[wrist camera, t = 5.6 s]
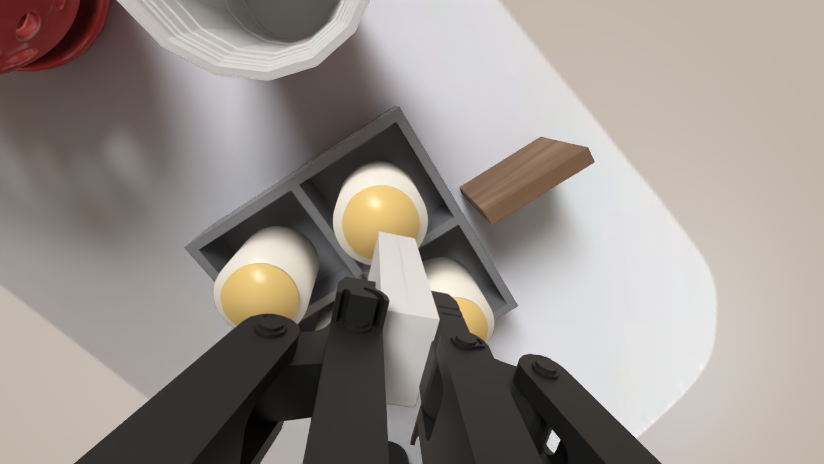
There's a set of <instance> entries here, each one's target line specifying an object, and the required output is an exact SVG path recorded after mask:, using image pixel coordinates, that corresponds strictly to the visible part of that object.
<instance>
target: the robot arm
mask: <svg viewBox="0 0 824 464" xmlns="http://www.w3.org/2000/svg"><path fill="white" fill-rule="evenodd" d="M419 391H420V396H421V406H420V409H419V413H418V416H417V420H416V423H415V427H414V430H413V434H412V437H411V443H410V445H415V442H416V438H417V437H418V436H419V439H420V447H421V454H422V462H423V464H661V463H660V462H659V461H658V460H657V459H656V458H655V457H654V456H653V455H652V454H651V453H650V452H649V451H648V450H647V449H646V448H645V447H644V446H643V445H642V444H641V443H640V442H639V441H638V440H637V439H636V438H635V437H634V436H633V435H632V434H631V433H630V432H629V431H628V430H627V429H626V428H625V427H624V426H623V425H621V424H620V423H619V422H618V421H617V420H616V419H615V418H614V417H613V416H612V415H611V414H610V413H609V412H608V411H607V410H606V409H605V408H604V407H603V406H602V405H601V404H600V403H599V402H598V401H597V400H596V399H595V398H594V397H593V396H592V395H591V394H590V393H589V392H588V391H587V390H586V389H585V388H584V387H583V386H582V385H581V384H580V383H579V382H578V381H577V380H576V379H575V378H574V377H572V376H571V375H570V374H569V373H568V372H567V371H566V370H565V369H564V368H563V367H562V366H560V365H559V364H558V363H556V362H554V361H552V360H551V359H550V358H547V357H544V356H541V355H533V354H528V355H523V356H522V357H521V358H520V359H519V362H518V365H517V367H516V366H513V365H510V364H507V363H504V362H501V361H499V360H496V359H494V357H493V355H492V353H491V351H490V348H489V346H488V345H487V344H486V342H485V341H484V340H482V339H481V338H480V337H478V336H477V335H474V334H472V333H470V331H469V329H468V327H467V324H466V322H465V320H464V318H463V315H462V312H461V311H460V308H459V305H458V303H457V301H456V300H455V299H454V298H452V297H451V296H450V295H449V294H447V293H442V292H436V291H431V289H430V286H429V283H428V280H427V276H426V273H425V270H424V267H423V263H422V260H421V257H420V253H419V250H418V247H417V244H416V240H415V238H410V237H405V236H400V235H395V234H390V233H385V232H380V231H379V232H378V236H377V241H376V245H375V250H374V254H373V259H372V263H371V268H370V272H369V277H368V280H363V279H357V278H351V277H345V278H343V279H342V280H340V281H339V282H338V287H337V291H336V296H335V301H334V306H333V311H332V316H331V321H330V323H329V324H328V325H327V326H326V327H324V328H322V329H320V330H316V331H311V332H300V329H299V326H298V324H297V323H295V322H294V321H293V320H292V319H289V318H287V317H285V316H281V315H277V314H270V313H269V314H268V313H267V314H259V315H255V316H251V317H249V318H247V319H245V320H244V321H242V322H241V323H240V324H239V325H238V326H236V327H235V328H234V329H233V330H232V331H231V332H229V333H228V334H227V335H226V336H225V337H223V338H222V339H221V340H220V341H219V342H218V343H216V344H215V345H214V346H213V347H212V348H210V349H209V350H208V351H207V352H206V353H204V354H203V355H202V356H201V357H200V358H199V359H197V360H196V361H195V362H194V363H193V364H191V365H190V366H189V367H188V368H187V369H186V370H184V371H183V372H182V373H181V374H180V375H178V376H177V377H176V378H175V379H174V380H172V381H171V382H170V383H169V384H168V385H167V386H165V387H164V388H163V389H162V390H161V391H159V392H158V393H157V394H156V395H155V396H154V397H152V398H151V399H150V400H149V401H148V402H146V403H145V404H144V405H143V406H142V407H141V408H139V409H138V410H137V411H136V412H135V413H133V414H132V415H131V416H130V417H129V418H128V419H127V420H125V421H124V422H123V423H122V424H120V425H119V426H118V427H117V428H116V429H115V430H113V431H112V432H111V433H110V434H109V435H107V436H106V437H105V438H104V439H103V440H101V441H100V442H99V443H98V444H97V445H95V446H94V447H93V448H92V449H91V450H90V451H88V452H87V453H86V454H85V455H84V456H83V457H81V458H80V459H79V460H78V461H77V462H76V463H74V464H260V462H261V461H262V459H263V458H264V456H265V454H266V453H267V451H268V450H269V448H270V447H271V445H272V443H273V442H274V440H275V439H276V437H277V436H278V434H279V432H280V431H281V429H282V426H283V423H284V421H287V420H295V419H303V418H310V417H312V418H311V423H310V429H309V434H308V439H307V444H306V449H305V455H304V460H303V464H389V453H388V432H387V410H386V404H391V405H399V406H406V407H414V408H415V405H416V401H417V398H418V394H419ZM552 430H553V431H554V432H555V433H556V435H557V436H558V437H559V438H560V439H561V440H560V442H559V445H558V447H557V450H556V451H555V453H553V452H552V451H551V450H550V449H549V448H548V447H547V445H546V443H547V441H548V438H549V436H550V433H551V431H552Z"/></svg>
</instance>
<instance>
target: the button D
mask: <svg viewBox="0 0 824 464" xmlns="http://www.w3.org/2000/svg"><path fill="white" fill-rule="evenodd" d="M422 263H423V267H424V270H425V273H426V276H427V280H428V283H429V286H430V289H431V291H436V292H442V293H447V294H449V295H450V296H451V297H452V298H454V299H455V300H456V301H457V303H458V305H459V308H460V311H461V312H462V315H463V318H464V320H465V322H466V324H467V327H468V329H469V331H470V333H472V334H474V335H477V336H478V337H480V338H481V339H482V340H484V341H485V342H486V344H488V343H489V341H490V339H491V337H492V335H493V331H494V316H493V313H492V310H491V308H490V306H489V304H488V303H487V301H486V299H485V297H484V296H483V294H482V292H481V291H480V289H479V287H478V285H477V284H476V282H475V280H474V278H473V277H472V275H471V273H470V271H469V270H468V269H467V268H466V267H465V266H464V265H463V264H462V263H460V262H459V261H457V260H454V259H452V258H447V257H435V258H431V259H428V260H425V261H423V262H422Z"/></svg>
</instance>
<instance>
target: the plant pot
mask: <svg viewBox="0 0 824 464" xmlns="http://www.w3.org/2000/svg"><path fill="white" fill-rule="evenodd" d="M109 4H110V0H0V75H1V74H4V73H7V72H10V71H13V70H17V71H38V70H45V69H51V68H54V67H57V66H60V65H63V64H65V63H67V62H69V61H71V60H73V59H74V58H76V57H78V56H79V55H80V54H82V53H83V52H84V51H85V50H86V49H88V48H89V47H90V45H91V44H92V43H93V42H94V41H95V39H96V38H97V37H98V35H99V33H100V32H101V30H102V28H103V26H104V23H105V20H106V17H107V14H108V9H109Z"/></svg>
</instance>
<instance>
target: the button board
mask: <svg viewBox="0 0 824 464" xmlns="http://www.w3.org/2000/svg"><path fill="white" fill-rule="evenodd" d="M374 161H383V162H389V163H392V164H394V165H397V166H398V167H400V168H402V169H403V170H404V171H405V172H406V173H407V174H408V175H409V176H410V177H411V179H412V181H413V182H414V184H415V186H416V188H417V190H418V192H419V194H420V196H421V198H422V200H423V202H424V204H425V207H426V210H427V215H428V226H427V232H426V235H425V237H424V239H423V242H422V243H421V245H420V246H419V248H418V250H419V253H420V257H421V260H422V262H423V261H425V260H428V259H431V258H435V257H447V258H452V259H454V260H457V261H459V262H460V263H462V264H463V265H464V266H465V267H466V268H467V269H468V270H469V271H470V273H471V275H472V277H473V278H474V280H475V282H476V284H477V285H478V287H479V289H480V291H481V292H482V294H483V296H484V297H485V299H486V301H487V303H488V304H489V306H490V308H491V310H492V313H493V316H494V320H495V319H497V318H499V317H500V316H502V315H504V314H505V313H507V312H509V311H511V310H512V309H514V308H516V307H517V306H518V305H517V303H516V301H515V300H514V298H513V296H512V295H511V293H510V291H509V290H508V288H507V286H506V285H505V283H504V281H503V280H502V278H501V276H500V275H499V273H498V271H497V270H496V268H495V266H494V265H493V263H492V261H491V260H490V258H489V256H488V255H487V253H486V251H485V249H484V248H483V246H482V244H481V243H480V241H479V239H478V238H477V236H476V234H475V233H474V231H473V229H472V228H471V226H470V224H469V223H468V221H467V219H466V218H465V216H464V214H463V213H462V211H461V209H460V208H459V206H458V204H457V203H456V201H455V199H454V198H453V196H452V194H451V193H450V191H449V189H448V188H447V186H446V184H445V183H444V181H443V179H442V178H441V176H440V174H439V173H438V171H437V169H436V168H435V166H434V164H433V163H432V161H431V159H430V158H429V156H428V154H427V153H426V151H425V149H424V148H423V146H422V144H421V143H420V141H419V139H418V138H417V136H416V134H415V133H414V131H413V129H412V127H411V126H410V124H409V122H408V121H407V119H406V117H405V116H404V114H403V112H402V111H401V109H400V107H396V106H395V107H393V108H391V109H390V110H388V111H387V112H385V113H384V114H382V115H381V116H379V117H378V118H376V119H375V120H373V121H371V122H370V123H368V124H367V125H365V126H364V127H362V128H361V129H359V130H358V131H356V132H355V133H353V134H351V135H350V136H348V137H347V138H345V139H344V140H342V141H341V142H339V143H338V144H336V145H335V146H333V147H332V148H330V149H328V150H327V151H325V152H324V153H322V154H321V155H319V156H318V157H316V158H315V159H313V160H312V161H310V162H308V163H307V164H305V165H304V166H302V167H301V168H299V169H298V170H296V171H295V172H293V173H292V174H290V175H289V176H287V177H285V178H284V179H282V180H281V181H279V182H278V183H276V184H275V185H273V186H272V187H270V188H269V189H267V190H265V191H264V192H262V193H261V194H259V195H258V196H256V197H255V198H253V199H252V200H250V201H249V202H247V203H245V204H244V205H242V206H241V207H239V208H238V209H236V210H235V211H233V212H232V213H230V214H229V215H227V216H226V217H224V218H222V219H221V220H219V221H218V222H216V223H215V224H213V225H212V226H210V227H209V228H208V229H206V230H205V231H204V232H203V233H201V234H200V235H199V236H198V237H197V238H195V239H194V240H193V241H192V242H190V243H189V244H188V245H187V246H185V247H184V248H185V249H186V250H187V251H188V252H189V253H190V255H191V256H192V257H193V258H194V259H195V260H196V261H197V262H198V264H199V265H200V266H201V267H202V268H203V269H204V270H205V272H206V273H207V274H208V275H209V276H210V277H211V278H212V279H213V281H214V282H215V281H216V278H217V277H218V275H219V273H220V272H221V270H222V269H223V268H224V267H225V266H226V264H227V263H228V262H229V261H230V260H231V259H232V257H233V256H234V255H235V254H236V253H237V252H238V250H239V249H240V248H241V247H242V246H243V245H244V244H245V242H246V241H247V240H248V239H249V238H250V237H251V236H252V235H253V234H254V233H256V232H257V231H259V230H261V229H264V228H267V227H272V226H284V227H289V228H292V229H295V230H297V231H299V232H301V233H302V234H304V235H305V236H306V237H307V238H308V239H309V240H310V241H311V242H312V243H313V245H314V246H315V248H316V251H317V253H318V257H319V270H318V274H317V277H316V280H315V284H314V287H313V290H312V294H311V297H310V300H309V304H308V307H307V310H306V313H305V315H304V316H303V318H302V320H301V321H300V322H299V323H298V326H299V329H300V332H311V331H314V330H315V326H316V322H317V318H318V316H319V314H320V312H321V311H322V309H323V308H324V307H325V306H326V305H328V304H330V303H331V302H333V301H335V296H336V291H337V287H338V282H339V281H340V280H342V279H343V278H345V277H351V278H357V279H363V280H368V277H369V272H370V268H371V265H367V264H364V263H361V262H359V261H357V260H355V259H354V258H352V257H351V256H349V255H348V254H347V253H346V252H345V251H344V250H343V248H342V247H341V246H340V244H339V242H338V240H337V238H336V236H335V233H334V228H333V214H334V210H335V206H336V203H337V200H338V197H339V193H340V190H341V187H342V185H343V182H344V181H345V179H346V177H347V176H348V175H349V174H350V173H351V172H352V171H353V170H354V169H356V168H357V167H359V166H361V165H363V164H365V163H369V162H374Z"/></svg>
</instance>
